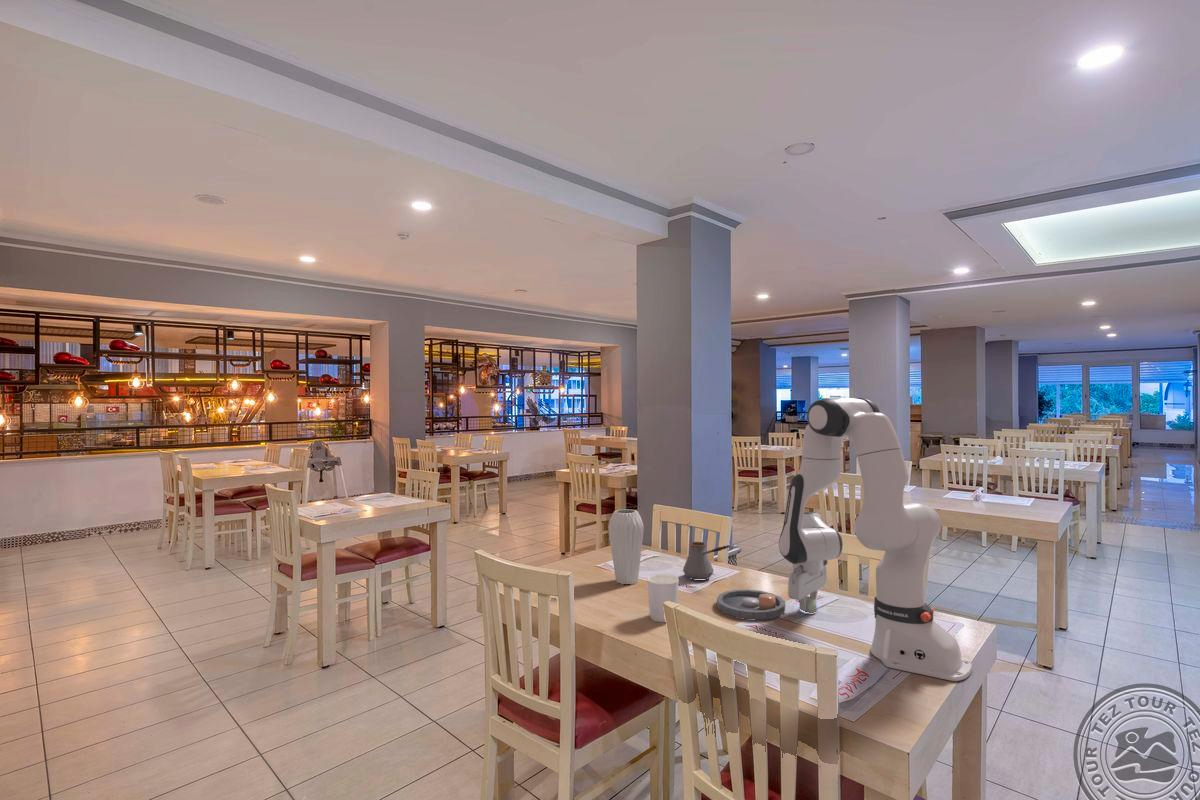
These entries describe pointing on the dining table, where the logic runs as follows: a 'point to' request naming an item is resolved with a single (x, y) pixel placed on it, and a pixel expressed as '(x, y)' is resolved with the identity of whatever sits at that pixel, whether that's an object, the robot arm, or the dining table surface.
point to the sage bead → (810, 604)
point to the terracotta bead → (766, 601)
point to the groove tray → (748, 613)
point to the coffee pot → (699, 561)
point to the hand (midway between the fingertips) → (808, 606)
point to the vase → (626, 544)
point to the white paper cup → (661, 594)
